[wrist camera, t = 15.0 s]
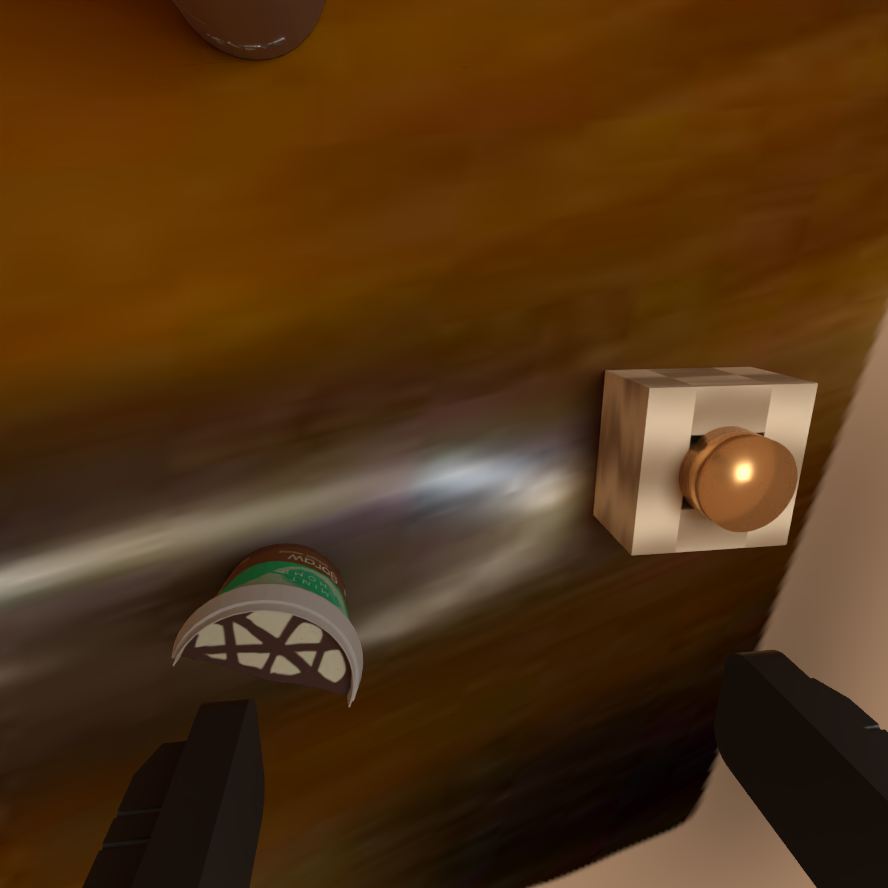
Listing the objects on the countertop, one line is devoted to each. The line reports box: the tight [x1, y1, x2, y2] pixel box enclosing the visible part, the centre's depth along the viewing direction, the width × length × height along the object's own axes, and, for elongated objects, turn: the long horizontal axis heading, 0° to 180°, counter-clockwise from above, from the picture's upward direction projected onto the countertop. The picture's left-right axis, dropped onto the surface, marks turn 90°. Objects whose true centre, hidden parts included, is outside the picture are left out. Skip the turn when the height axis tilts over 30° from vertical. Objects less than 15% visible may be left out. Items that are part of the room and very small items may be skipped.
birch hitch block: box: [593, 367, 818, 555], centre depth 42 cm, size 12×12×7 cm
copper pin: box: [679, 426, 798, 532], centre depth 40 cm, size 6×6×10 cm
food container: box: [172, 544, 363, 707], centre depth 39 cm, size 12×6×10 cm, turn 67°
